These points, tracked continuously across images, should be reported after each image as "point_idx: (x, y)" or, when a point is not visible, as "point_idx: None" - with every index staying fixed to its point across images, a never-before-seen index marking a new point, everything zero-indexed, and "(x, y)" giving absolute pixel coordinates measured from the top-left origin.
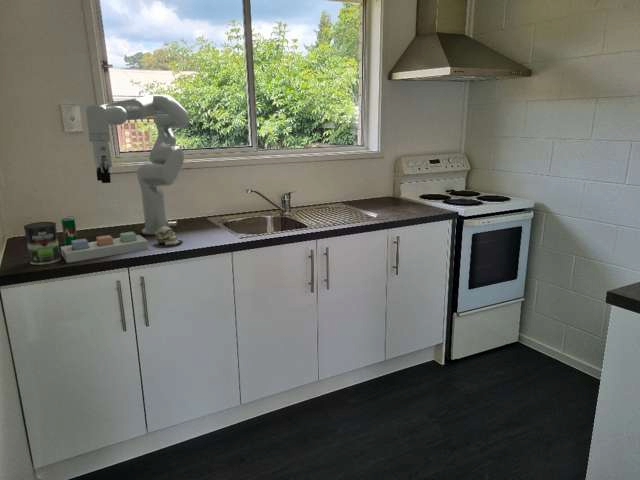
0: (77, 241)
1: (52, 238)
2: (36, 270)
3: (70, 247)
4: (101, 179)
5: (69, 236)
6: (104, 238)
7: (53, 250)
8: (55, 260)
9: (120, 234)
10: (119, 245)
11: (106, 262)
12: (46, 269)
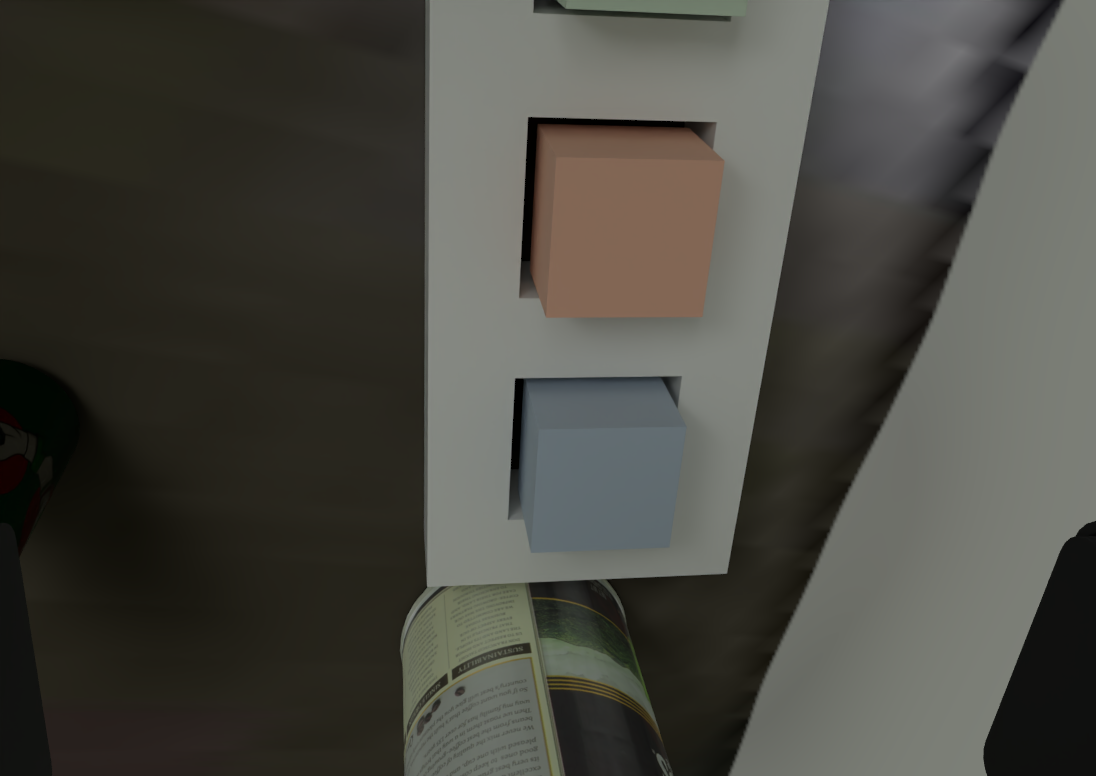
0: (618, 509)
1: (656, 744)
2: (731, 694)
3: (520, 521)
4: (17, 702)
5: (50, 491)
6: (701, 255)
7: (635, 662)
8: (613, 596)
9: (602, 9)
10: (812, 94)
11: (947, 268)
12: (759, 646)
